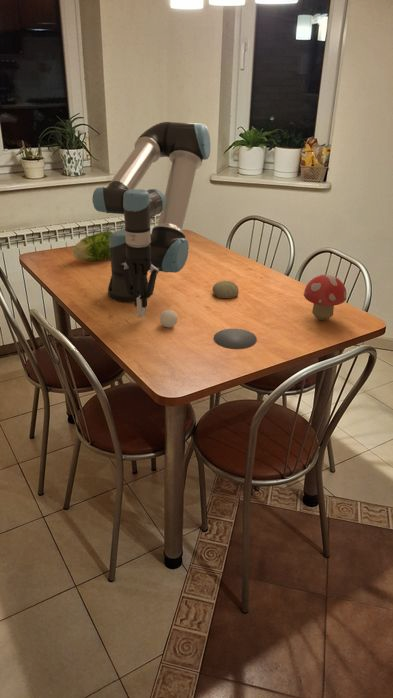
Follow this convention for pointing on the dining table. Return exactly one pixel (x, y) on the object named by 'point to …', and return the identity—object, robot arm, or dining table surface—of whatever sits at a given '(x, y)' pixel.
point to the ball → (168, 318)
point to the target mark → (235, 338)
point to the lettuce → (93, 247)
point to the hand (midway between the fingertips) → (141, 315)
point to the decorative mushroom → (325, 295)
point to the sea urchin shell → (225, 289)
